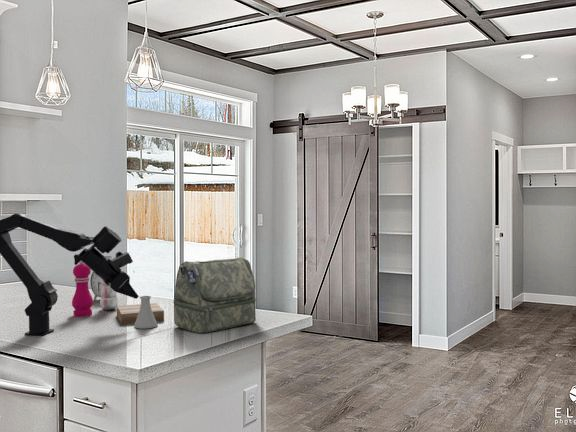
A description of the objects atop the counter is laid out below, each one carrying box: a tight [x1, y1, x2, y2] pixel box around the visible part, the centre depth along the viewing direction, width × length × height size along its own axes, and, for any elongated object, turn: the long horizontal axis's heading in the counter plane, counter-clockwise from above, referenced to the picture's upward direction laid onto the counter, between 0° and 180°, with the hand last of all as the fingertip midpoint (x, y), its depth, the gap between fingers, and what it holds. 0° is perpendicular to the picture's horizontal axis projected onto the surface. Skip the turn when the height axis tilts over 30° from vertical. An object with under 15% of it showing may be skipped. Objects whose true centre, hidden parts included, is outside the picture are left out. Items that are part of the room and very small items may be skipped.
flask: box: [133, 295, 159, 330], centre depth 199 cm, size 7×7×10 cm
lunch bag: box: [173, 257, 257, 334], centre depth 200 cm, size 26×18×22 cm
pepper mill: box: [71, 261, 94, 318], centre depth 220 cm, size 7×7×20 cm
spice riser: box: [116, 302, 165, 325], centre depth 213 cm, size 16×14×4 cm
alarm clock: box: [89, 271, 101, 300], centre depth 253 cm, size 12×7×15 cm, turn 49°
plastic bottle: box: [99, 255, 119, 311], centre depth 230 cm, size 6×7×20 cm
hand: (134, 295), depth 198 cm, fingers open, 9 cm apart
